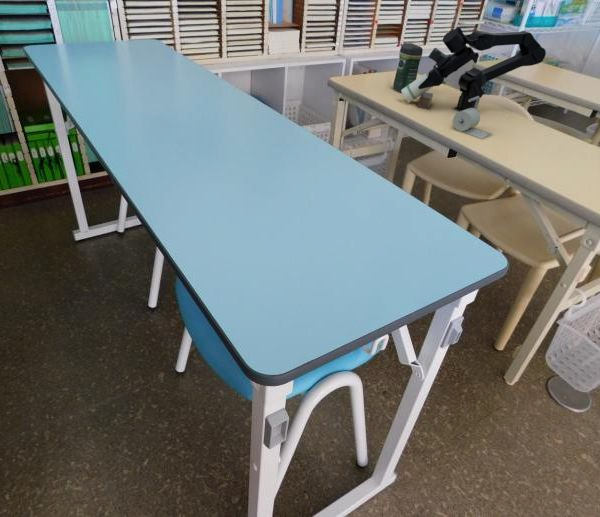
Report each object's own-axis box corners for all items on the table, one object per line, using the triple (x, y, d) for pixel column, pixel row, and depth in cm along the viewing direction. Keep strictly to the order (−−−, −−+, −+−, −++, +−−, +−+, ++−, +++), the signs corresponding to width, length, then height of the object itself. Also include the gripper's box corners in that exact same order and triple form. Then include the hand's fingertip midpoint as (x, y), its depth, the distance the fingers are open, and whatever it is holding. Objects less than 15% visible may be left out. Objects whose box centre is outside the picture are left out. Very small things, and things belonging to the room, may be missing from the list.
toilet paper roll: (493, 133, 159) (463, 122, 165) (503, 102, 152) (472, 93, 159) (479, 139, 152) (448, 128, 159) (489, 107, 146) (457, 97, 153)
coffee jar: (416, 93, 192) (427, 46, 181) (400, 93, 190) (410, 46, 179) (405, 86, 200) (414, 41, 189) (389, 87, 197) (398, 41, 186)
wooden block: (430, 103, 182) (433, 93, 179) (427, 109, 175) (430, 98, 173) (421, 101, 183) (423, 91, 180) (417, 107, 176) (419, 96, 174)
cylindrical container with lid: (427, 102, 183) (435, 72, 175) (428, 107, 178) (437, 77, 170) (398, 98, 183) (405, 68, 176) (398, 103, 178) (406, 72, 171)
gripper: (448, 37, 171) (413, 63, 181) (442, 45, 157) (404, 72, 167) (463, 63, 174) (428, 86, 183) (458, 72, 160) (420, 98, 169)
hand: (420, 85), depth 176 cm, fingers open, 8 cm apart
